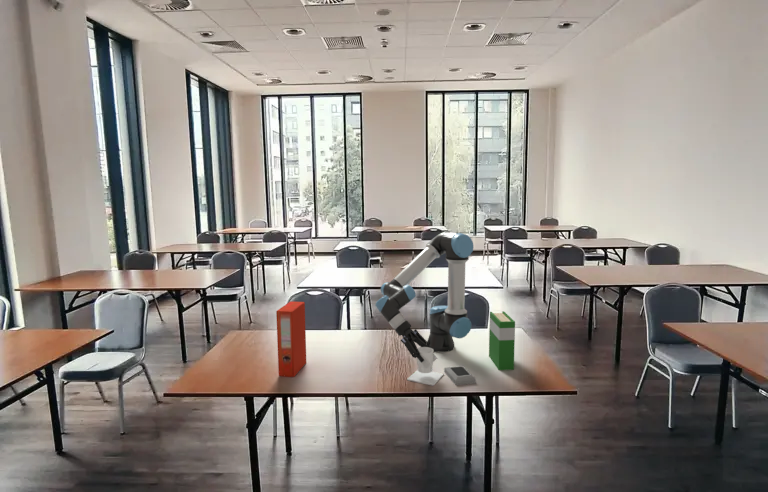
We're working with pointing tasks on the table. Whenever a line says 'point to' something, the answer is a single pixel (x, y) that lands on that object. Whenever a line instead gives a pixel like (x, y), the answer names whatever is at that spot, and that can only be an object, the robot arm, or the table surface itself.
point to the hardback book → (502, 340)
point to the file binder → (291, 338)
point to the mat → (425, 377)
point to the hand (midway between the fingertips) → (431, 363)
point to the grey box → (459, 375)
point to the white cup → (428, 355)
